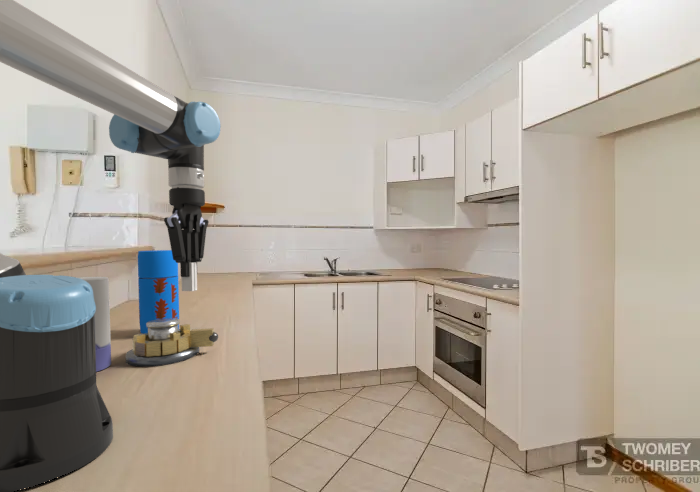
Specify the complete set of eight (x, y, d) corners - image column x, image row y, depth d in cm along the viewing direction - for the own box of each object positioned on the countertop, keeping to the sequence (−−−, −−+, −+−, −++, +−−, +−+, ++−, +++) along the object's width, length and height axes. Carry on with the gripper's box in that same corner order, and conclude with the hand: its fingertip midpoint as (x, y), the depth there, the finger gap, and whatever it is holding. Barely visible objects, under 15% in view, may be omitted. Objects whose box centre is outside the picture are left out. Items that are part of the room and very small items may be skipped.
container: (98, 358, 86) (95, 275, 86) (120, 365, 81) (117, 277, 81) (46, 372, 78) (43, 280, 77) (67, 381, 73) (64, 282, 72)
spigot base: (160, 370, 78) (159, 332, 78) (109, 362, 84) (108, 326, 84) (214, 348, 93) (214, 316, 93) (169, 342, 99) (168, 312, 99)
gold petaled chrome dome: (123, 357, 81) (122, 338, 81) (146, 341, 94) (146, 324, 94) (212, 352, 84) (211, 333, 84) (223, 337, 96) (223, 321, 96)
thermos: (142, 330, 113) (139, 250, 113) (179, 326, 118) (177, 249, 117) (138, 338, 103) (135, 251, 103) (179, 334, 108) (177, 250, 107)
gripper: (182, 183, 76) (185, 295, 76) (218, 191, 89) (220, 286, 89) (151, 185, 77) (154, 294, 78) (191, 192, 90) (193, 286, 91)
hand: (189, 290), depth 84 cm, fingers closed
